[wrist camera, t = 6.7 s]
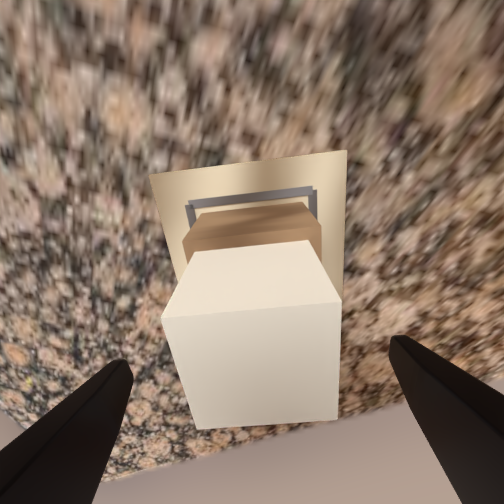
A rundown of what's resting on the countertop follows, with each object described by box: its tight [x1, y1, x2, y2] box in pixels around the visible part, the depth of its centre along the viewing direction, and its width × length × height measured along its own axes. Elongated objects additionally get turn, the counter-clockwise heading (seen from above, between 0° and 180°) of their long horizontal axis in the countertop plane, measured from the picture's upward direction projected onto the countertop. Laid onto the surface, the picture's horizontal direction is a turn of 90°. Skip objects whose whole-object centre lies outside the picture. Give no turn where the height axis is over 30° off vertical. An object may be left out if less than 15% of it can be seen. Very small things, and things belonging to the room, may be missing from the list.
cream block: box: [160, 240, 342, 430], centre depth 10 cm, size 5×5×4 cm
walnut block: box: [182, 202, 322, 264], centre depth 14 cm, size 6×6×4 cm
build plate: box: [148, 150, 347, 315], centre depth 16 cm, size 11×11×1 cm
